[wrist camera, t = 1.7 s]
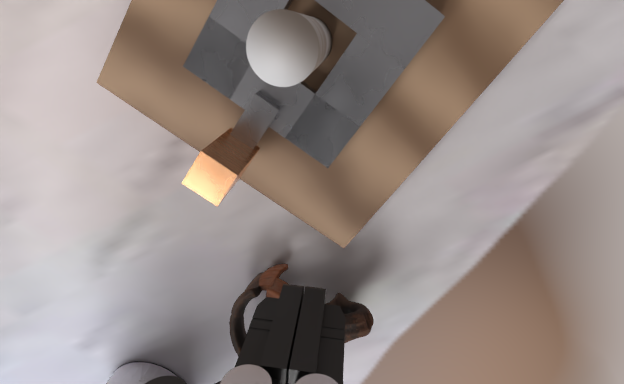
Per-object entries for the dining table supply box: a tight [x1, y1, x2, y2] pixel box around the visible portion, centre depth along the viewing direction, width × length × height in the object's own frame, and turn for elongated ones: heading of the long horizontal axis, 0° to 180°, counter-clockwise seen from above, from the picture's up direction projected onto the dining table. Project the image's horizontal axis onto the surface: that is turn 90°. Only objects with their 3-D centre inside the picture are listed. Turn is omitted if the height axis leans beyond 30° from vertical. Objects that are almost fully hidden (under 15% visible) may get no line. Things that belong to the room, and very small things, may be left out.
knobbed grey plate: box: [182, 0, 445, 206], centre depth 22 cm, size 16×12×7 cm
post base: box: [97, 0, 564, 248], centre depth 21 cm, size 22×22×12 cm
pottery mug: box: [229, 264, 373, 356], centre depth 33 cm, size 12×10×8 cm
